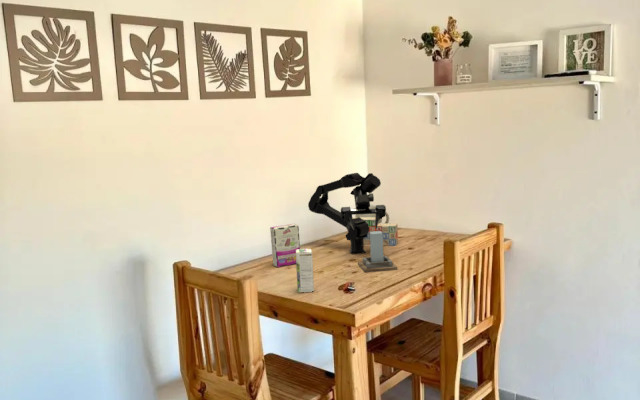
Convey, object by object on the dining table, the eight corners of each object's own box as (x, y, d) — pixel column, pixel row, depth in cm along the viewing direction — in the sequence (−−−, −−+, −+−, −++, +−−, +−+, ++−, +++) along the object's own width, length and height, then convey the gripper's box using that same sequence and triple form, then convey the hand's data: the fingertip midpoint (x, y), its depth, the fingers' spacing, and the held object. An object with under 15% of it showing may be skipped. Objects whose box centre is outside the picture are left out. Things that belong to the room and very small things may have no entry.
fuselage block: (371, 263, 235) (369, 231, 233) (382, 262, 235) (380, 231, 233) (372, 266, 230) (371, 234, 228) (383, 265, 231) (382, 233, 229)
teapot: (351, 235, 293) (350, 203, 291) (357, 229, 306) (356, 199, 304) (387, 235, 288) (386, 203, 286) (392, 230, 301) (390, 198, 298)
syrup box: (297, 288, 210) (294, 249, 208) (313, 287, 211) (311, 247, 208) (297, 293, 205) (295, 252, 202) (314, 291, 205) (312, 251, 203)
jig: (358, 264, 238) (357, 257, 238) (389, 261, 240) (389, 254, 240) (364, 272, 226) (364, 265, 225) (397, 269, 227) (397, 262, 227)
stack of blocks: (398, 243, 273) (397, 217, 271) (396, 246, 267) (395, 219, 265) (353, 242, 279) (352, 216, 277) (350, 245, 273) (349, 219, 271)
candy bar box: (296, 260, 249) (294, 223, 247) (301, 263, 245) (299, 224, 242) (272, 265, 244) (269, 226, 242) (276, 267, 240) (274, 228, 237)
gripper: (339, 188, 243) (343, 219, 234) (384, 185, 244) (389, 216, 235) (339, 204, 252) (342, 234, 243) (382, 201, 253) (387, 231, 244)
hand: (365, 228), depth 241 cm, fingers open, 9 cm apart
